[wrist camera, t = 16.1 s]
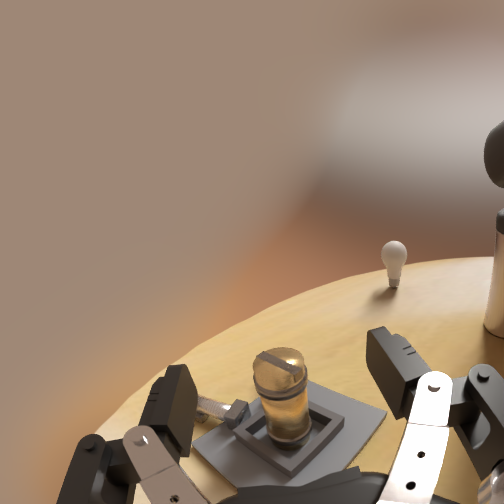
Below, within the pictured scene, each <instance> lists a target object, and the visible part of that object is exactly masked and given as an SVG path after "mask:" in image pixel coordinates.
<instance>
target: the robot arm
mask: <svg viewBox="0 0 504 504" xmlns="http://www.w3.org/2000/svg"><path fill="white" fill-rule="evenodd" d="M484 163H485V168H486V171H487V173H488V175H489V177H490V179H491V180H492V181H493V183H494V184H496V185H497V186H499V187H501V188H504V121H502V122H501V123H500V124H499V125H498V126H496V127H495V128H494V129H493V130H492V131H491V132H490V133H489V135H488V137H487V139H486V143H485V148H484ZM484 325H485V327H486V329H487V330H488V331H489V332H491V333H492V334H494V335H496V336H498V337H502V338H504V209H502V210H500V211H499V212H498V214H497V218H496V241H495V254H494V264H493V272H492V280H491V286H490V292H489V298H488V304H487V309H486V312H485V318H484ZM366 363H367V367H368V369H369V371H370V373H371V375H372V377H373V378H374V380H375V382H376V384H377V386H378V387H379V389H380V391H381V393H382V395H383V396H384V398H385V400H386V402H387V404H388V406H389V407H390V409H391V411H392V413H393V415H394V417H395V419H396V420H398V419H400V418H403V417H405V418H406V420H407V423H406V426H405V429H404V432H403V435H402V438H401V441H400V444H399V447H398V450H397V453H396V455H395V458H394V461H393V463H392V465H391V468H390V470H389V473H388V475H387V474H384V473H379V472H360V469H359V466H356V467H353V468H349V469H346V470H342V471H338V472H334V473H330V474H328V475H326V476H323V477H321V478H319V479H317V480H314V481H312V482H310V483H307V484H305V485H302V486H277V485H261V486H250V487H238V494H237V495H233V496H230V497H228V498H226V499H223V500H221V501H220V502H218V503H216V504H460V503H457V502H454V501H451V500H448V499H446V498H443V497H440V496H437V495H435V494H433V492H434V489H435V485H436V482H437V479H438V475H439V472H440V468H441V464H442V460H443V456H444V452H445V447H446V442H447V437H448V432H449V427H453V428H454V429H455V431H456V433H457V435H458V437H459V438H460V440H461V442H462V444H463V446H464V448H465V450H466V451H467V453H468V455H469V457H470V459H471V461H472V463H473V465H474V467H475V469H476V471H477V473H478V475H479V477H480V479H481V482H482V483H481V484H480V486H479V488H478V493H477V494H478V502H479V504H504V379H503V378H502V377H501V375H500V374H499V373H498V372H497V371H496V370H495V369H494V368H493V367H492V366H490V365H488V364H477V365H475V366H473V367H472V368H471V369H470V371H469V373H468V376H465V377H459V378H454V379H450V378H449V377H448V376H447V375H445V374H443V373H440V372H433V371H432V370H431V369H430V368H429V366H428V365H427V364H426V363H425V361H424V360H423V359H422V358H421V356H420V355H419V354H418V353H416V350H415V349H414V348H413V347H411V344H410V343H409V342H408V341H407V340H406V339H405V338H404V337H402V336H400V335H398V334H394V335H391V334H390V332H389V331H388V330H387V329H386V327H384V326H382V327H379V328H376V329H372V330H369V331H368V332H367V346H366ZM197 403H198V393H197V389H196V386H195V384H194V382H193V379H192V377H191V375H190V372H189V370H188V368H187V366H186V365H185V364H180V365H169V366H168V367H167V370H166V373H165V376H164V377H159V378H158V379H157V380H156V381H155V383H154V384H153V385H152V388H151V390H150V395H149V396H148V399H147V402H146V404H145V407H144V410H143V413H142V416H141V419H140V422H139V425H138V426H136V427H133V428H131V429H130V430H128V431H127V432H126V434H125V435H124V437H123V438H122V439H118V440H112V441H105V440H104V439H103V438H102V437H101V436H100V435H97V434H90V435H87V436H85V437H83V438H82V439H81V440H80V442H79V443H78V445H77V447H76V450H75V452H74V455H73V458H72V460H71V463H70V466H69V468H68V471H67V474H66V476H65V479H64V482H63V485H62V488H61V491H60V494H59V497H58V500H57V503H56V504H133V500H134V494H135V489H136V483H140V485H141V487H142V489H143V490H144V492H145V494H146V495H147V497H148V499H149V500H150V502H151V504H212V503H211V502H210V501H209V500H208V499H207V498H206V497H205V496H204V495H203V494H202V492H201V491H200V490H199V489H198V488H197V486H196V485H195V484H194V483H193V482H192V480H191V479H190V478H189V476H188V475H187V474H186V473H185V471H184V470H183V469H182V467H181V466H180V465H179V460H180V457H189V454H190V448H191V441H192V435H193V428H194V422H195V416H196V410H197Z"/></svg>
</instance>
